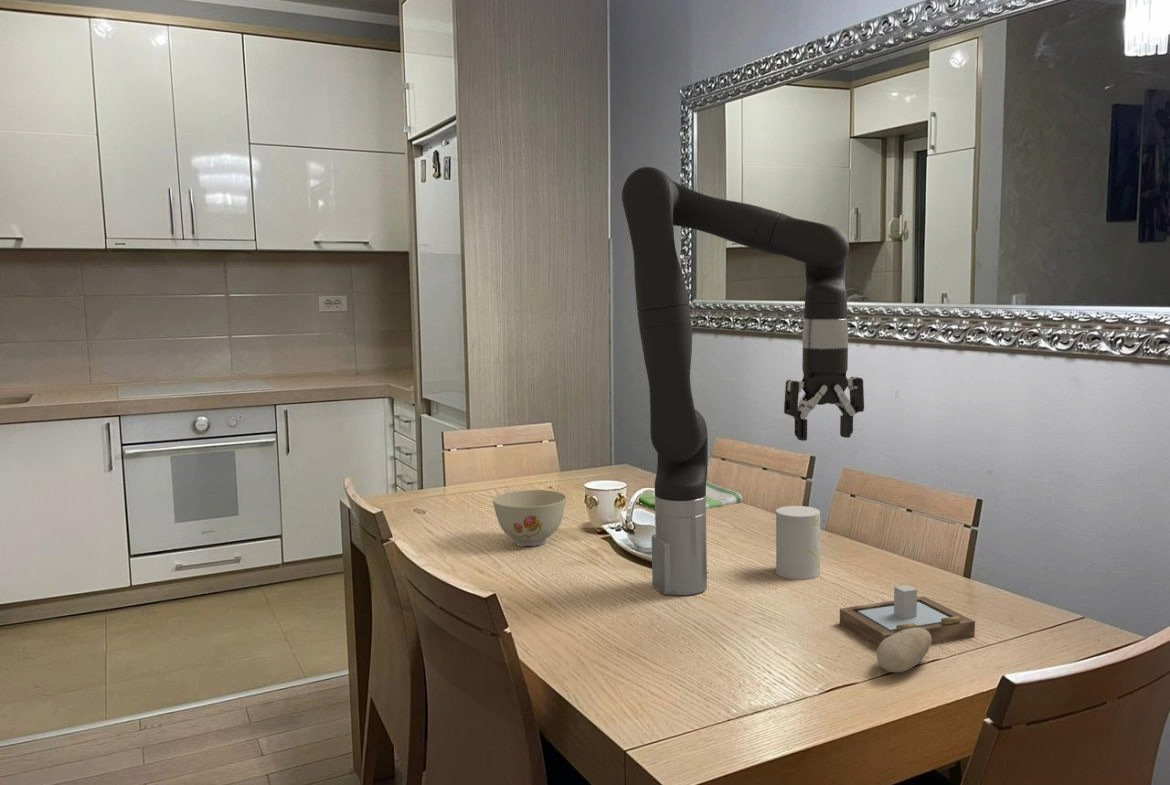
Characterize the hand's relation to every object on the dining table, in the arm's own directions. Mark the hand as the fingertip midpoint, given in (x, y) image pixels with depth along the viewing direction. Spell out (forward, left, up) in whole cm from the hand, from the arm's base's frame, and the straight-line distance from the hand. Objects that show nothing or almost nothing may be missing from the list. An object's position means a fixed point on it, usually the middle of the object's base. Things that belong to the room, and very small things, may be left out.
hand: (823, 438), depth 154 cm
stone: (-5, -30, -28) cm, 41 cm away
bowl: (-41, +51, -28) cm, 71 cm away
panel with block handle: (+3, -19, -27) cm, 33 cm away
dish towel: (+5, +72, -29) cm, 78 cm away
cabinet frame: (+3, -19, -28) cm, 34 cm away
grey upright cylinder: (+2, +12, -28) cm, 31 cm away
